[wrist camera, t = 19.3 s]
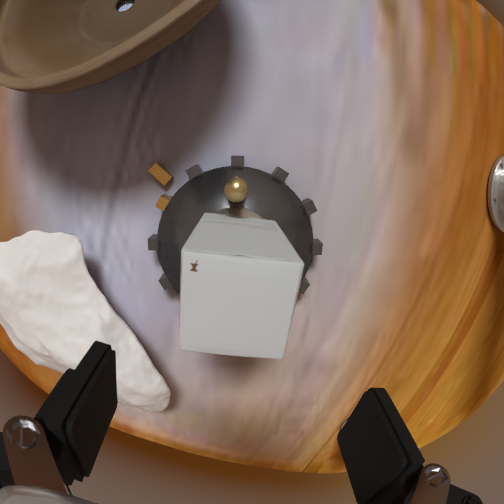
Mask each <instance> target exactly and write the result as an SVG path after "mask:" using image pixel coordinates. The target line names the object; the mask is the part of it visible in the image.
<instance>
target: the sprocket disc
mask: <svg viewBox="0 0 504 504" xmlns="http://www.w3.org/2000/svg"><path fill="white" fill-rule="evenodd" d="M186 173H187V175H188V176H189V178H190V181H188V182H187V183H185V184H184V185H183V186H182V187H181V188H180V189H179V190H178V191H177V192H176V193H175V194H174V196H173V197H170V196H168V195H167V194H164V195H162V196H160V198H159V200H158V202H157V204H156V207H157V208H159V209H161V210H162V211H164V212H163V214H162V217H161V220H160V224H159V229H158V234H153V235H152V236H151V237H150V238H148V250H158V255H159V259H160V263H161V266H162V268H163V271H164V274H163V275H162V276H161V278H160V279H159V282H160V284H161V285H162V287H163V288H164V290H165V289H167V288H169V287H171V286H173V288H174V289H175V290H176V291H177V292H178V293H179V294H180V274H181V249H182V248H183V246H184V244H185V243H186V241H187V240H188V238H189V236H190V235H191V233H192V232H193V230H194V229H195V227H196V225H197V224H198V222H199V221H200V219H201V218H202V216H203V215H204V213H214V214H223V215H233V216H242V217H251V218H259V219H266V220H273V221H276V223H277V224H278V226H279V227H280V228H281V230H282V231H283V233H284V234H285V236H286V237H287V239H288V240H289V242H290V243H291V245H292V246H293V248H294V249H295V251H296V252H297V254H298V255H299V257H300V258H301V259H302V261H303V262H304V269H303V274H302V278H301V283H300V287H299V291H300V292H302V293H303V294H304V292H305V291H306V289H307V288H308V287H309V285H310V284H309V282H308V280H307V279H306V278H305V277H304V276H305V274H306V272H307V270H308V268H309V264H310V261H311V257H312V255H322V246H323V243H322V242H321V241H320V240H319V239H313V232H312V227H311V223H310V219H309V216H308V215H310V214H312V213H314V212H316V211H317V209H316V207H315V205H314V203H313V201H312V200H311V199H309V198H307V199H305V200H303V201H300V199H299V198H298V197H297V195H296V194H295V193H294V192H293V191H292V190H291V189H290V188H289V187H288V186H287V185H286V184H285V183H283V182H284V181H285V179H286V178H287V176H288V175H289V173H287V172H286V171H284V170H283V169H281V168H280V167H276V168H275V170H274V171H273V173H272V174H271V175H270V174H269V173H266V172H263V171H261V170H258V169H254V168H249V167H244V156H231V166H227V167H221V168H216V169H213V170H210V171H206V172H204V173H203V171H202V169H201V168H200V166H199V165H195V166H193V167H191V168H189V169H188V170H186Z"/></svg>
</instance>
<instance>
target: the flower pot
mask: <svg viewBox="0 0 504 504" xmlns="http://www.w3.org/2000/svg"><path fill="white" fill-rule="evenodd" d="M123 1H125V0H0V85H2V86H5V87H7V88H10V89H14V90H18V91H23V92H29V93H35V94H57V93H64V92H69V91H74V90H78V89H81V88H85V87H88V86H91V85H94V84H97V83H99V82H102V81H105V80H108V79H110V78H112V77H114V76H116V75H119V74H121V73H123V72H125V71H127V70H129V69H131V68H133V67H135V66H136V65H138V64H140V63H142V62H144V61H145V60H147V59H148V58H150V57H152V56H153V55H155V54H156V53H158V52H160V51H161V50H163V49H165V48H166V47H167V46H169V45H170V44H172V43H173V42H175V41H176V40H177V39H179V38H180V37H181V36H183V35H184V34H186V33H187V32H188V31H189V30H190V29H192V28H193V27H194V26H195V25H196V24H198V23H199V22H200V21H201V20H202V19H203V18H204V17H205V16H206V15H208V14H209V13H210V12H211V11H212V10H213V9H214V8H215V7H216V6H217V5H218V3H219V2H220V1H221V0H134V4H133V5H132V6H131V7H130V8H129V9H128V10H126V11H122V12H119V11H118V10H117V8H118V6H119V4H120V3H121V2H123Z"/></svg>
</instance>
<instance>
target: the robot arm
mask: <svg viewBox="0 0 504 504" xmlns="http://www.w3.org/2000/svg"><path fill="white" fill-rule="evenodd" d="M488 207H489V212H490V216H491V219H492V221H493V223H494V225H495V226H496V227H497V229H498V230H500V231H501V232H504V154H503V155H501V156H500V157H499V158H498V159H497V161H496V162H495V164H494V166H493V168H492V170H491V174H490V177H489V182H488ZM117 402H118V399H117V381H116V352H115V350H112V348H111V345H109V344H106V343H103V342H100V341H95V342H94V343H93V344H92V346H91V347H90V348H89V350H88V351H87V353H86V354H85V355H84V357H83V358H82V360H81V361H80V363H79V364H78V366H77V367H76V369H75V370H74V369H71V368H69V369H67V370H66V371H65V373H64V374H63V376H62V377H61V378H60V380H59V381H58V383H57V384H56V386H55V387H54V389H53V390H52V392H51V393H50V395H49V396H48V398H47V399H46V401H45V402H44V404H43V405H42V407H41V408H40V410H39V411H38V413H37V415H36V416H35V417H34V419H33V418H31V417H28V416H15V417H13V418H11V419H9V420H8V421H7V422H6V423H5V425H4V428H3V432H0V504H97V503H94V502H91V501H87V500H84V499H81V498H79V497H75V496H74V495H73V493H72V491H71V489H70V487H69V485H72V483H73V480H74V479H75V480H78V481H80V482H82V480H83V478H84V476H86V477H89V475H90V473H91V470H92V468H93V465H94V463H95V460H96V457H97V455H98V452H99V450H100V447H101V445H102V442H103V439H104V437H105V435H106V432H107V430H108V427H109V425H110V423H111V420H112V418H113V415H114V413H115V411H116V408H117ZM337 440H338V444H339V447H340V450H341V453H342V457H343V460H344V463H345V466H346V469H347V472H348V475H349V479H350V482H351V485H352V488H353V491H354V495H355V498H356V501H357V503H358V504H482V501H481V499H480V498H479V497H478V496H477V495H475V494H473V493H470V492H468V491H465V490H463V489H461V488H458V487H456V486H454V485H452V484H450V475H449V473H448V471H447V470H446V469H445V468H444V467H443V466H441V465H439V464H435V463H432V464H427V465H426V466H425V467H423V465H422V464H423V463H424V462H425V460H424V458H423V456H422V454H421V452H420V451H419V449H418V447H417V445H416V443H415V441H414V439H413V438H412V436H411V434H410V432H409V430H408V428H407V427H406V425H405V423H404V421H403V419H402V418H401V416H400V414H399V412H398V411H397V409H396V407H395V405H394V403H393V402H392V400H391V398H390V396H389V395H388V393H387V391H386V390H385V389H384V388H370V389H368V391H366V392H364V394H363V395H362V397H361V399H360V401H359V402H358V404H357V405H356V407H355V409H354V410H353V412H352V414H351V415H350V417H349V418H348V420H347V421H346V423H345V425H344V426H343V428H342V429H341V431H340V432H339V434H338V438H337Z"/></svg>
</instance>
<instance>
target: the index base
mask: <svg viewBox="0 0 504 504" xmlns="http://www.w3.org/2000/svg"><path fill="white" fill-rule="evenodd" d="M149 172H150V173H151V174H152V175H153V176H154V177H155V178H156V179H157V180H158V181H160V182H161V183H162V184H163V185H164V186H165V185H167V184H168V183H169V181H170V180H171V179H172V178H173V176H172V175H171V174H170V173H169V172H168V171H167V170H166V169H165V168H163V167H162V166H161V165H160V164H159V163H158V162H155V163H154V165H153V166H152V167H151V168H150V169H149Z"/></svg>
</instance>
